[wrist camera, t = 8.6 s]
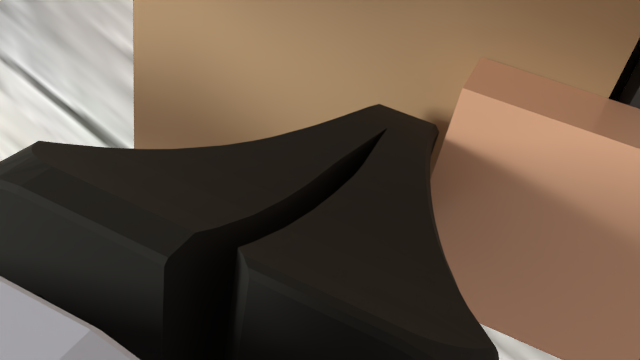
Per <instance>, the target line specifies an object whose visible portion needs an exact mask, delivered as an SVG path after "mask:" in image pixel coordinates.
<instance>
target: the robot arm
mask: <svg viewBox="0 0 640 360" xmlns="http://www.w3.org/2000/svg"><path fill="white" fill-rule="evenodd" d="M438 134H439V130H438V128H437V126H436V124H433V123H430V122H428V121H425V120H422V119H419V118H417V117H414V116H411V115H408V114H406V113H403V112H400V111H397V110H395V109H392V108H389V107H386V106H384V105H381V104H376V105H373V106H369V107H366V108H364V109H361V110H358V111H355V112H352V113H349V114H347V115H344V116H341V117H338V118H335V119H332V120H329V121H326V122H323V123H320V124H317V125H314V126H310V127H307V128H303V129H299V130H296V131H292V132H288V133H285V134H281V135H277V136H273V137H269V138H264V139H259V140H254V141H248V142H241V143H235V144H228V145H220V146H206V147H193V148H180V149H124V148H104V147H93V146H83V145H72V144H62V143H52V142H44V141H38V142H36V143H34V144H32V145H30V146H29V147H27V148H25V149H23V150H21V151H19V152H17V153H16V154H14V155H12V156H10V157H8V158H6V159H4V160H3V161H1V162H0V360H499V356H498V351H497V349H496V347H495V345H494V344H493V343H492V341H491V340H490V338H489V337H488V335H487V334H486V332H485V331H484V329H483V328H482V327H481V325H480V324H479V322H478V321H477V319H476V318H475V316H474V315H473V313H472V312H471V310H470V309H469V307H468V306H467V304H466V302H465V300H464V298H463V296H462V295H461V293H460V291H459V288H458V286H457V284H456V281H455V279H454V276H453V274H452V272H451V269H450V267H449V265H448V262H447V260H446V257H445V255H444V251H443V248H442V245H441V242H440V238H439V234H438V230H437V226H436V222H435V217H434V211H433V205H432V196H431V184H430V162H431V155H432V152H433V149H434V146H435V143H436V140H437V137H438Z"/></svg>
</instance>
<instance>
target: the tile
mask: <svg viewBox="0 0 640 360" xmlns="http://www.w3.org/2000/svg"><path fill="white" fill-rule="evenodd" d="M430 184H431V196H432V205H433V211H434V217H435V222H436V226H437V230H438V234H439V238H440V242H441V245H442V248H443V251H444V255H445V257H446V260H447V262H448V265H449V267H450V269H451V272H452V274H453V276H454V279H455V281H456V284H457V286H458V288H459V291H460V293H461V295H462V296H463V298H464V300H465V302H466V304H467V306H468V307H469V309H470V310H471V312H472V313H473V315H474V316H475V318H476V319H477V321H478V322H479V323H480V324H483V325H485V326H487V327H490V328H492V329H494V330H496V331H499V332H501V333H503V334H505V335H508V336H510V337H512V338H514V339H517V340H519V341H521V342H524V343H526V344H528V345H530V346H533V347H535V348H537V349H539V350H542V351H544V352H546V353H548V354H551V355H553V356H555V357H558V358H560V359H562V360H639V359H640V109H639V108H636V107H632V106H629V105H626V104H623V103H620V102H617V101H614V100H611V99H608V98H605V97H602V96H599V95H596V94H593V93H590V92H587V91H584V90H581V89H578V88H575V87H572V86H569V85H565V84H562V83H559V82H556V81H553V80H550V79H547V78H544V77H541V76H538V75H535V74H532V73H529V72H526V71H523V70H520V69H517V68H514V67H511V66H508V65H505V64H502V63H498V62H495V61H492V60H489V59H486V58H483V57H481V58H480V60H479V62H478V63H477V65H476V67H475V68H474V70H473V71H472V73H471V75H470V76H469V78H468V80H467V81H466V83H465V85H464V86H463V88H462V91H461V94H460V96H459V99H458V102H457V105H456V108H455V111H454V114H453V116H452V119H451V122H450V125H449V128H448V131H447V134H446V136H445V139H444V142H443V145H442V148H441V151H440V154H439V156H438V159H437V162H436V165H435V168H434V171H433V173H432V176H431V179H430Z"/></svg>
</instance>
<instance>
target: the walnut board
mask: <svg viewBox="0 0 640 360" xmlns="http://www.w3.org/2000/svg"><path fill="white" fill-rule="evenodd" d="M639 38H640V0H133V42H134V149H180V148H193V147H206V146H220V145H228V144H235V143H241V142H248V141H254V140H259V139H264V138H269V137H273V136H277V135H281V134H285V133H288V132H292V131H296V130H299V129H303V128H307V127H310V126H314V125H317V124H320V123H323V122H326V121H329V120H332V119H335V118H338V117H341V116H344V115H347V114H349V113H352V112H355V111H358V110H361V109H364V108H366V107H369V106H373V105H376V104H381V105H384V106H386V107H389V108H392V109H395V110H397V111H400V112H403V113H406V114H408V115H411V116H414V117H417V118H419V119H422V120H425V121H428V122H430V123H433V124H436V126H437V128H438V130H439V134H438V137H437V140H436V143H435V146H434V149H433V152H432V155H431V162H430V179H431V176H432V173H433V171H434V168H435V165H436V162H437V159H438V156H439V154H440V151H441V148H442V145H443V142H444V139H445V136H446V134H447V131H448V128H449V125H450V122H451V119H452V116H453V114H454V111H455V108H456V105H457V102H458V99H459V96H460V94H461V91H462V88H463V86H464V85H465V83H466V81H467V80H468V78H469V76H470V75H471V73H472V71H473V70H474V68H475V67H476V65H477V63H478V62H479V60H480V58H481V57H483V58H486V59H489V60H492V61H495V62H498V63H502V64H505V65H508V66H511V67H514V68H517V69H520V70H523V71H526V72H529V73H532V74H535V75H538V76H541V77H544V78H547V79H550V80H553V81H556V82H559V83H562V84H565V85H569V86H572V87H575V88H578V89H581V90H584V91H587V92H590V93H593V94H596V95H599V96H602V97H605V98H609V96H610V94H611V92H612V90H613V88H614V86H615V84H616V83H617V81H618V79H619V77H620V75H621V73H622V71H623V69H624V67H625V65H626V63H627V61H628V59H629V57H630V55H631V53H632V51H633V49H634V47H635V46H636V44H637V42H638V40H639Z"/></svg>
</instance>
